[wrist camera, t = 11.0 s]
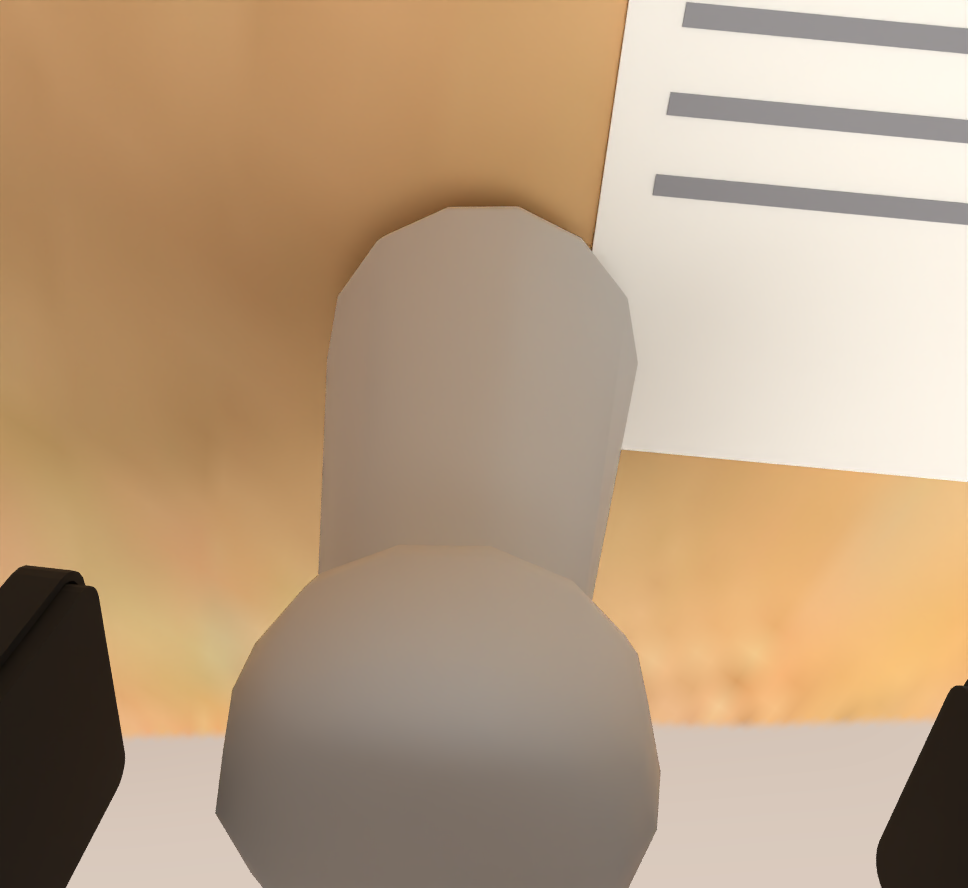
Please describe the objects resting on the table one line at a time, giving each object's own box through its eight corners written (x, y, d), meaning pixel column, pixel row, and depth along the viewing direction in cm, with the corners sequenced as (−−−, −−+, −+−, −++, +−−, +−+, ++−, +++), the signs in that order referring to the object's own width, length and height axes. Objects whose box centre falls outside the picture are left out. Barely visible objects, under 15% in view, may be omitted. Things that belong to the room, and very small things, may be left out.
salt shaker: (313, 364, 20) (31, 943, 9) (414, 122, 17) (192, 510, 6) (547, 466, 21) (564, 1099, 10) (678, 253, 18) (911, 790, 7)
